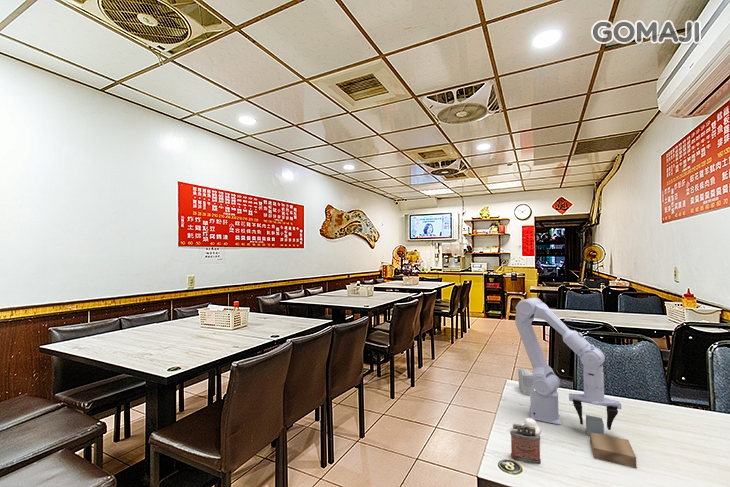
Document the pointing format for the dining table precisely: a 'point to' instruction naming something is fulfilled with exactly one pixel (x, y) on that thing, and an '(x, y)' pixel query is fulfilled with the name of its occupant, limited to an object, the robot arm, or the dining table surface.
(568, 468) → the dining table surface
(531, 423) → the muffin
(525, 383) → the medicine box
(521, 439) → the lighter
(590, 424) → the slate cube
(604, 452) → the walnut block
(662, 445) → the dining table surface
